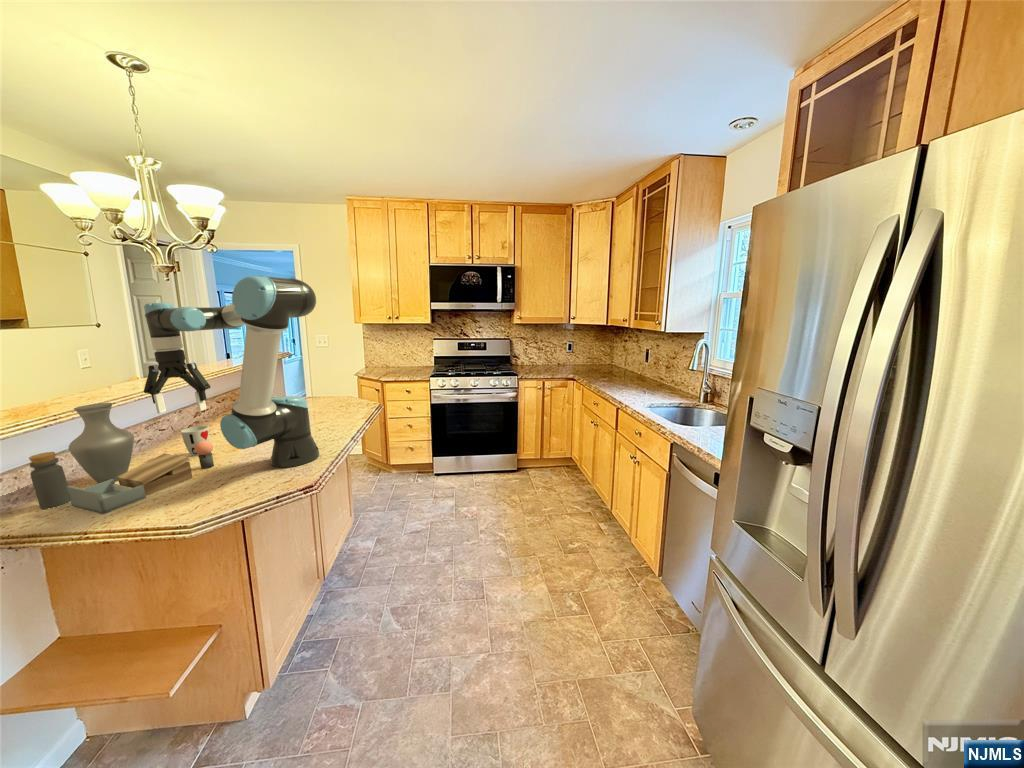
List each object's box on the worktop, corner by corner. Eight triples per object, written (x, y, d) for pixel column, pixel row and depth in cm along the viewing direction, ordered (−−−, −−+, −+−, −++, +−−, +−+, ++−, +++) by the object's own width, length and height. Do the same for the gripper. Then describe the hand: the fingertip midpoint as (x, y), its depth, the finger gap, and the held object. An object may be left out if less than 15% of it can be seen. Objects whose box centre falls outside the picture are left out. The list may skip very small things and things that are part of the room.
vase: (148, 475, 127) (131, 402, 122) (85, 493, 115) (63, 414, 110) (134, 467, 134) (118, 398, 130) (74, 483, 123) (53, 408, 118)
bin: (146, 497, 111) (141, 478, 110) (103, 514, 102) (97, 493, 101) (115, 491, 116) (110, 472, 115) (72, 506, 107) (66, 486, 106)
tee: (216, 465, 134) (214, 452, 133) (205, 469, 130) (203, 456, 129) (209, 464, 135) (207, 451, 134) (198, 468, 131) (195, 455, 131)
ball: (217, 452, 133) (215, 439, 132) (202, 458, 129) (199, 444, 128) (208, 451, 135) (205, 438, 134) (192, 456, 130) (189, 442, 129)
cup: (189, 459, 140) (184, 433, 138) (183, 455, 145) (178, 429, 143) (216, 452, 146) (211, 427, 144) (209, 448, 151) (204, 424, 149)
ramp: (193, 477, 124) (189, 456, 123) (144, 496, 112) (139, 473, 111) (169, 473, 128) (165, 453, 126) (120, 491, 116) (114, 468, 115)
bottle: (71, 503, 109) (57, 454, 106) (39, 511, 105) (24, 460, 102) (71, 497, 113) (58, 449, 110) (41, 505, 109) (26, 455, 106)
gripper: (215, 346, 132) (226, 406, 136) (140, 350, 131) (154, 410, 135) (198, 349, 124) (211, 411, 128) (119, 353, 123) (135, 416, 127)
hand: (182, 411), depth 132 cm, fingers open, 13 cm apart
